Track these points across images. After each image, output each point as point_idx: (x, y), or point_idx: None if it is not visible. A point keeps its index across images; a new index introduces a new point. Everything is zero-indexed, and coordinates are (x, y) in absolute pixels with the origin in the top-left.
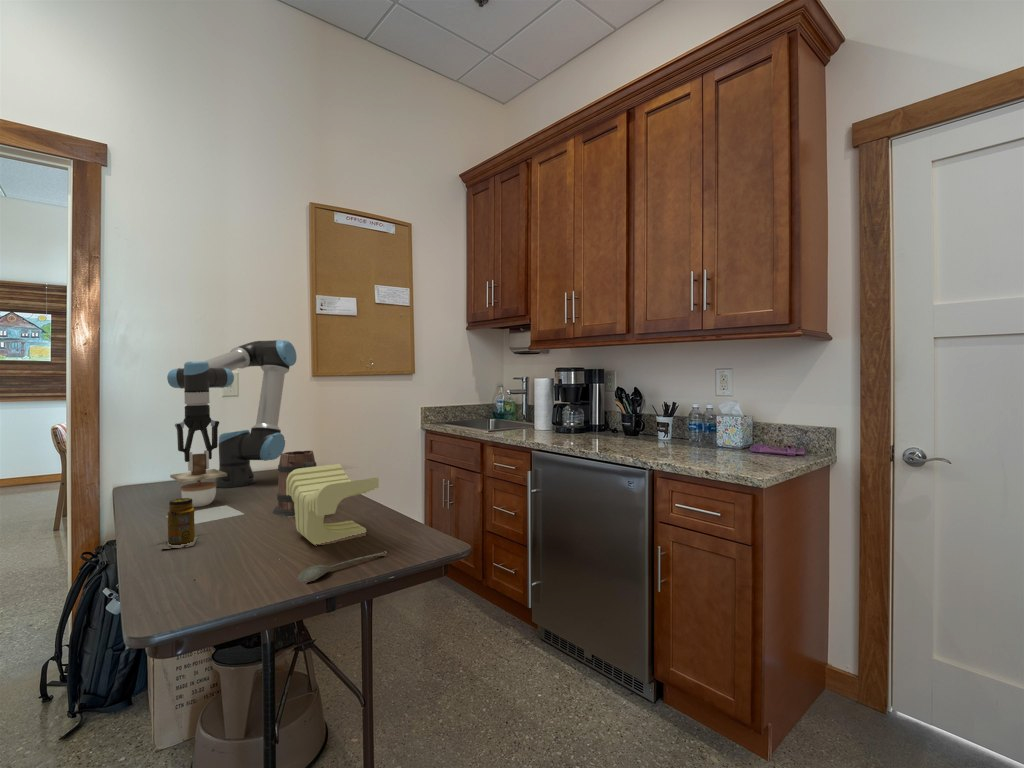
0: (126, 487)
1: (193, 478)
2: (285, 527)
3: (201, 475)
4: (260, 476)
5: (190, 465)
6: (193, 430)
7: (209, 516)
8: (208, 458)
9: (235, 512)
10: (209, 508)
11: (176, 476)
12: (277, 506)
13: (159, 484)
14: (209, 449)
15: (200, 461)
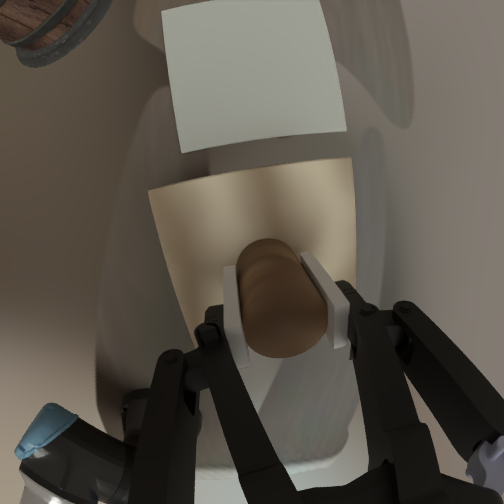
0: (328, 451)
1: (301, 162)
2: None
3: (262, 208)
4: (123, 435)
5: (318, 263)
6: (410, 455)
7: (246, 37)
8: (225, 296)
9: (176, 38)
10: (232, 140)
11: (350, 263)
12: (86, 10)
13: (287, 456)
14: (217, 337)
15: (273, 267)
